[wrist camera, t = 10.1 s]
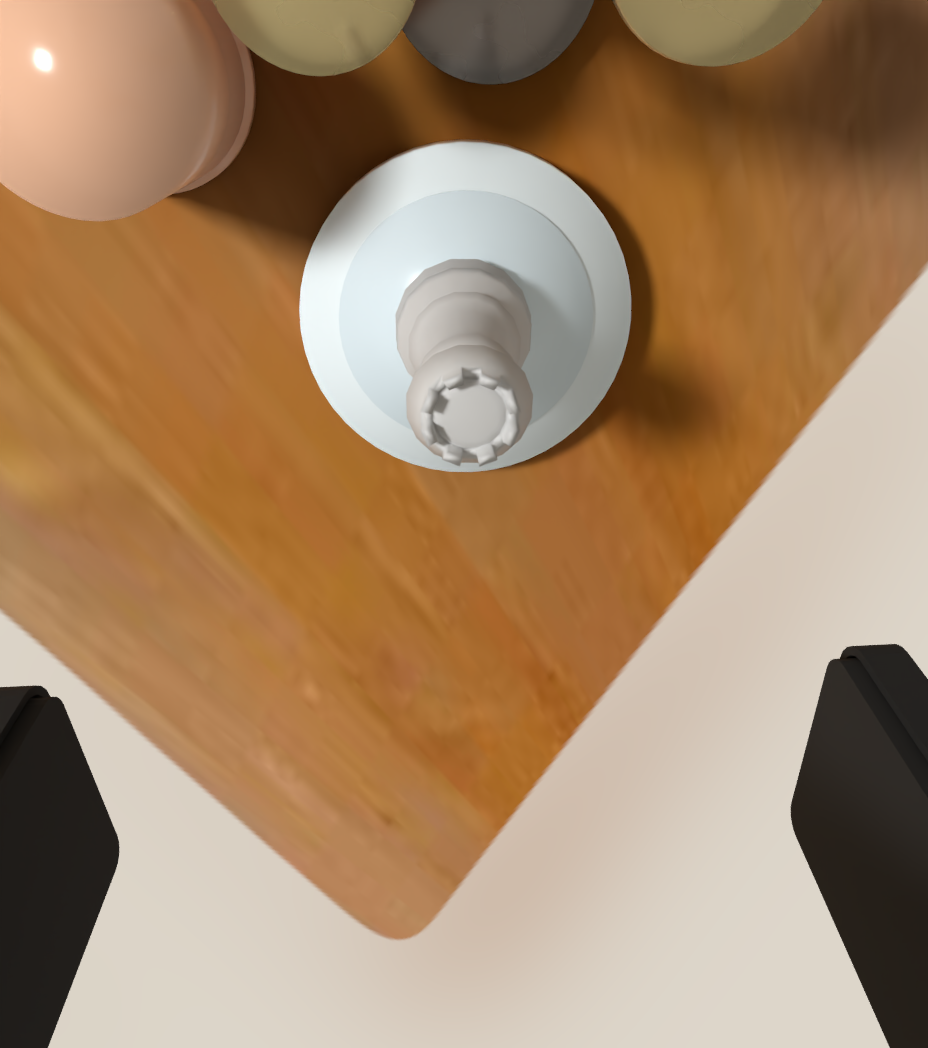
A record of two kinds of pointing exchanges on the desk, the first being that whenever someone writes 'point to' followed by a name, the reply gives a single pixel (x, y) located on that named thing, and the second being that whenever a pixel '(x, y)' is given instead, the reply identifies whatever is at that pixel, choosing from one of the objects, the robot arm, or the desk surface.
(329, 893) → the desk surface
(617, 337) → the dish
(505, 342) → the rook chess piece
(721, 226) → the desk surface
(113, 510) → the desk surface
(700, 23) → the balance
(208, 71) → the peach dome knob
